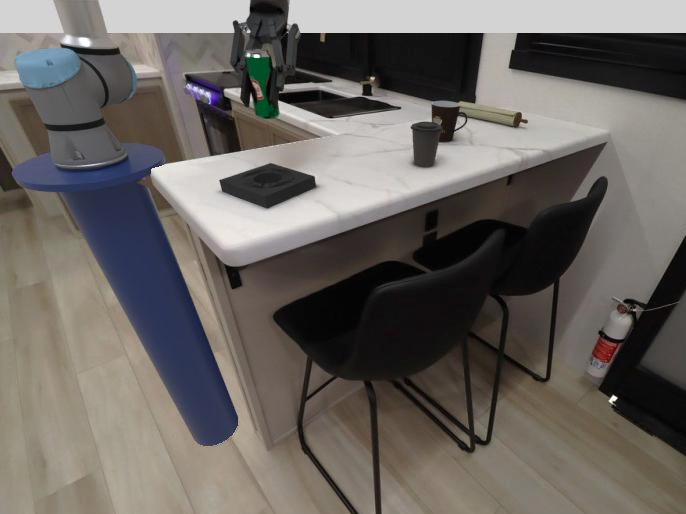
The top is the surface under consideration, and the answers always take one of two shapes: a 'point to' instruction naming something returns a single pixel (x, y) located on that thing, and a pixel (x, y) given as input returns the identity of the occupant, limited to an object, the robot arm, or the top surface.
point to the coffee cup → (425, 142)
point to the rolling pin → (492, 113)
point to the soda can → (260, 82)
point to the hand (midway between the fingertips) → (259, 103)
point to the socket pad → (268, 184)
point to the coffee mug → (446, 118)
